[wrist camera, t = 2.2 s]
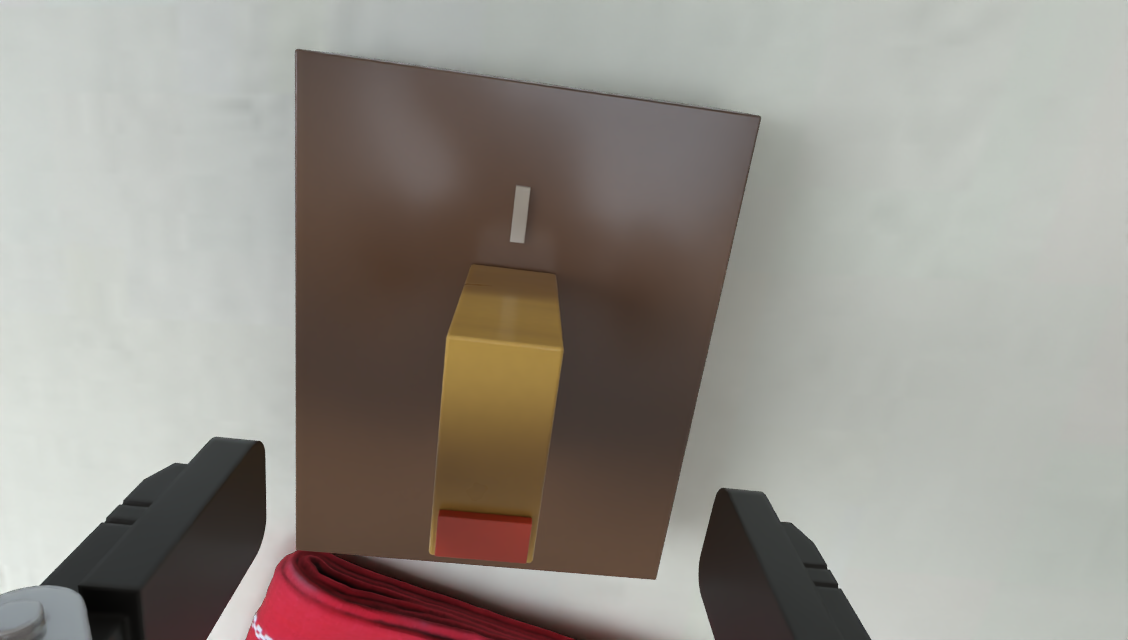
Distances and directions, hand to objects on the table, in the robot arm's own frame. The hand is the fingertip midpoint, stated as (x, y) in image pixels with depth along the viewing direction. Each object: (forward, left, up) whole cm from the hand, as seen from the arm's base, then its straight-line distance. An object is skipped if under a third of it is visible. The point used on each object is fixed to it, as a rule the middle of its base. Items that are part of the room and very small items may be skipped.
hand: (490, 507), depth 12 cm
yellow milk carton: (0, 0, -6) cm, 6 cm away
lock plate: (0, 0, -10) cm, 10 cm away
